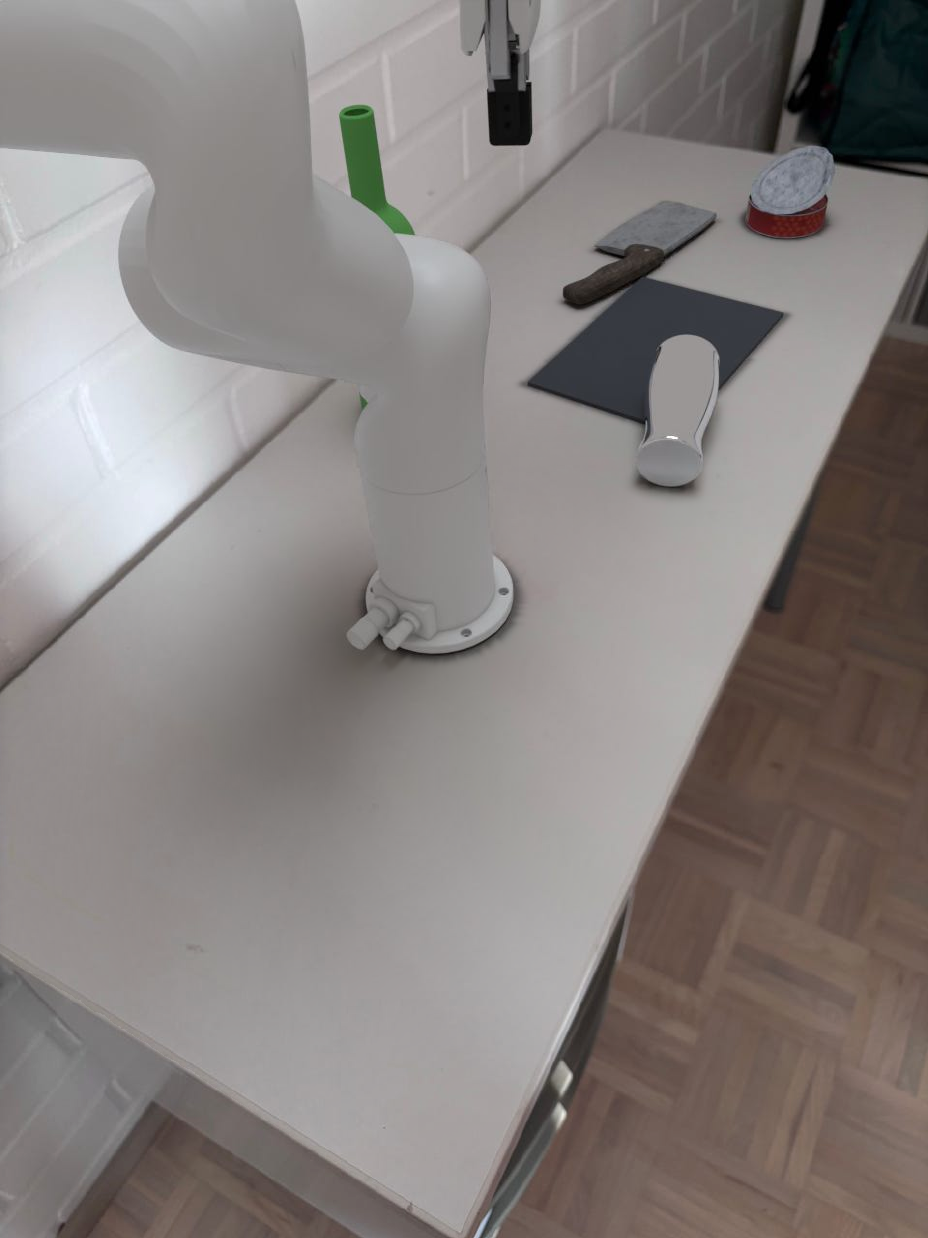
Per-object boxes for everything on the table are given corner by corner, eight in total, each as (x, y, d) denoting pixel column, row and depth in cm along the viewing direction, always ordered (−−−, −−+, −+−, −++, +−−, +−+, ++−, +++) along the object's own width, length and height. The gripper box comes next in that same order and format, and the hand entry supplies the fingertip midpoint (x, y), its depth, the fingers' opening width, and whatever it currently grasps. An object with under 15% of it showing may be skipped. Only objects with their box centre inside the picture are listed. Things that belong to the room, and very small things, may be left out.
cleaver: (597, 314, 111) (597, 298, 109) (530, 292, 115) (529, 276, 114) (722, 219, 125) (724, 203, 124) (658, 203, 130) (659, 187, 129)
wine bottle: (417, 384, 104) (380, 86, 82) (448, 419, 99) (417, 112, 77) (352, 406, 102) (296, 107, 80) (380, 443, 97) (328, 136, 75)
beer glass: (690, 425, 83) (706, 322, 91) (618, 445, 87) (640, 345, 95) (718, 480, 87) (732, 377, 96) (648, 497, 91) (667, 397, 100)
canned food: (816, 262, 125) (847, 211, 115) (740, 258, 125) (765, 207, 115) (811, 189, 128) (841, 134, 118) (737, 185, 128) (761, 129, 118)
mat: (679, 434, 94) (679, 431, 94) (527, 385, 102) (527, 381, 102) (783, 315, 108) (783, 312, 108) (642, 279, 116) (642, 276, 116)
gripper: (461, -175, 66) (477, 106, 80) (423, -131, 56) (448, 182, 70) (568, -183, 65) (566, 104, 79) (549, -139, 55) (550, 181, 69)
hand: (511, 140), depth 74 cm, fingers closed
